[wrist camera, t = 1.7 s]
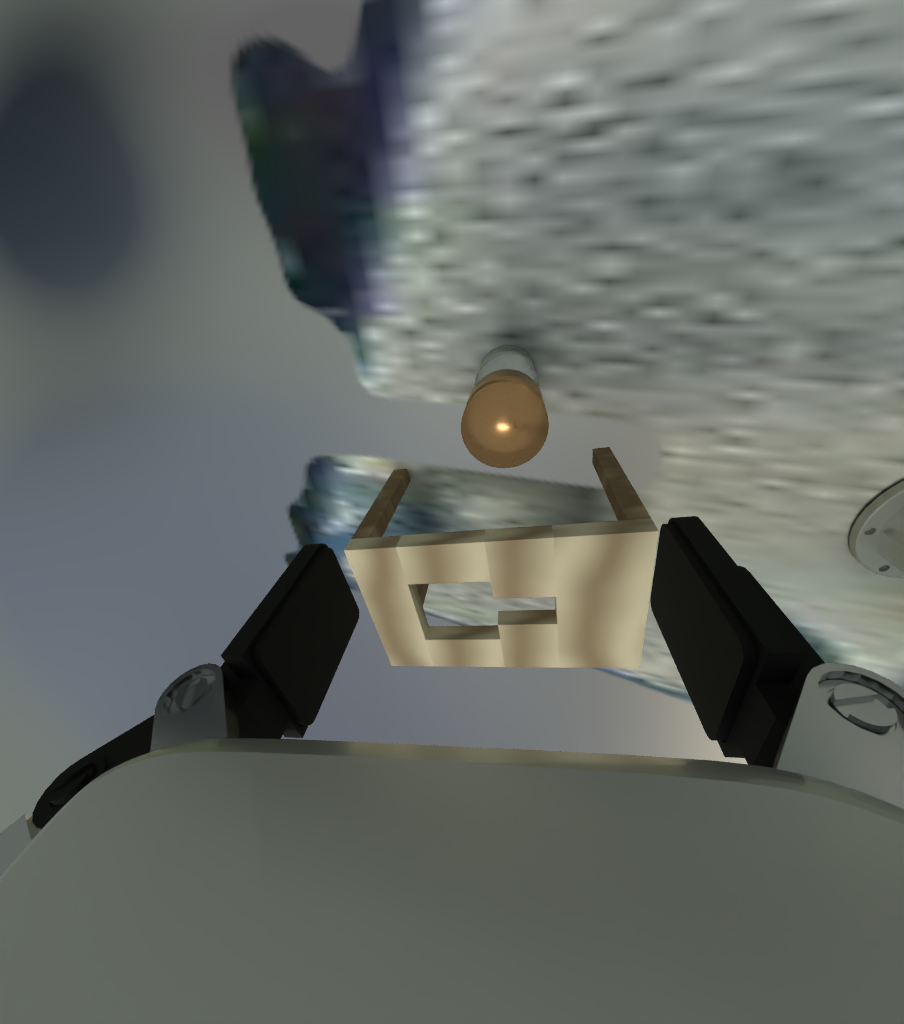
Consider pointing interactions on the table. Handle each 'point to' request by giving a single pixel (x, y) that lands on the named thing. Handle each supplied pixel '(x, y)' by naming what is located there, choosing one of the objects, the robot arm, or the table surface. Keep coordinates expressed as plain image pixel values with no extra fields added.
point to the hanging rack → (515, 584)
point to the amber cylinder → (505, 410)
